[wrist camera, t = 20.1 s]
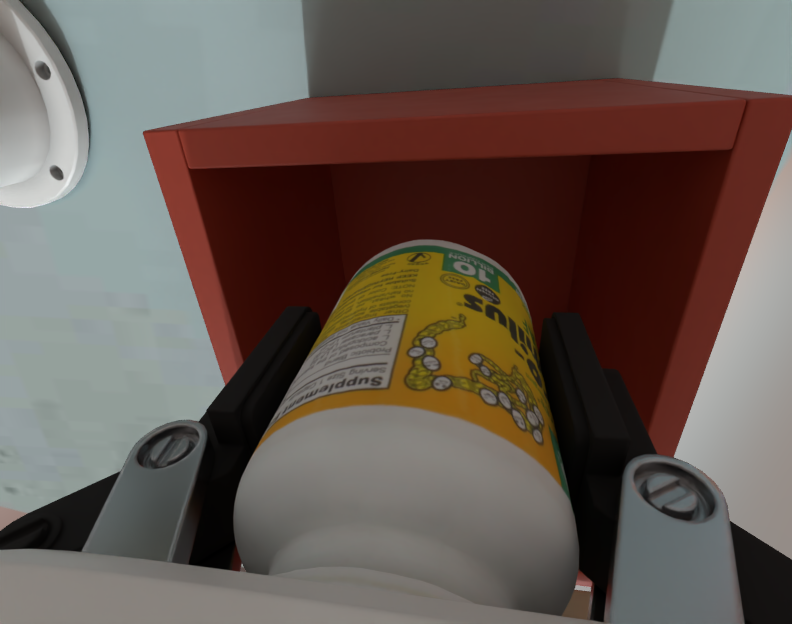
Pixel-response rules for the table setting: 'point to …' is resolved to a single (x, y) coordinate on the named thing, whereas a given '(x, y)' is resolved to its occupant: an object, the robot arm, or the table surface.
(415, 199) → the red open box
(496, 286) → the supplement bottle
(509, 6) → the table surface
